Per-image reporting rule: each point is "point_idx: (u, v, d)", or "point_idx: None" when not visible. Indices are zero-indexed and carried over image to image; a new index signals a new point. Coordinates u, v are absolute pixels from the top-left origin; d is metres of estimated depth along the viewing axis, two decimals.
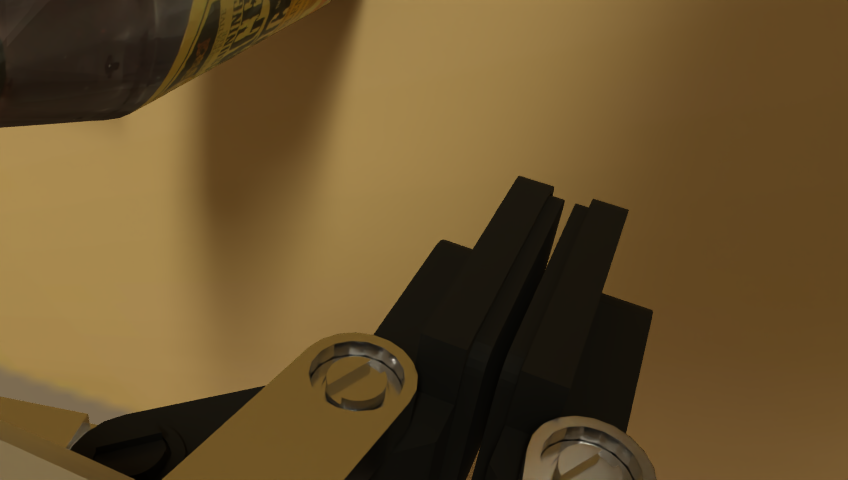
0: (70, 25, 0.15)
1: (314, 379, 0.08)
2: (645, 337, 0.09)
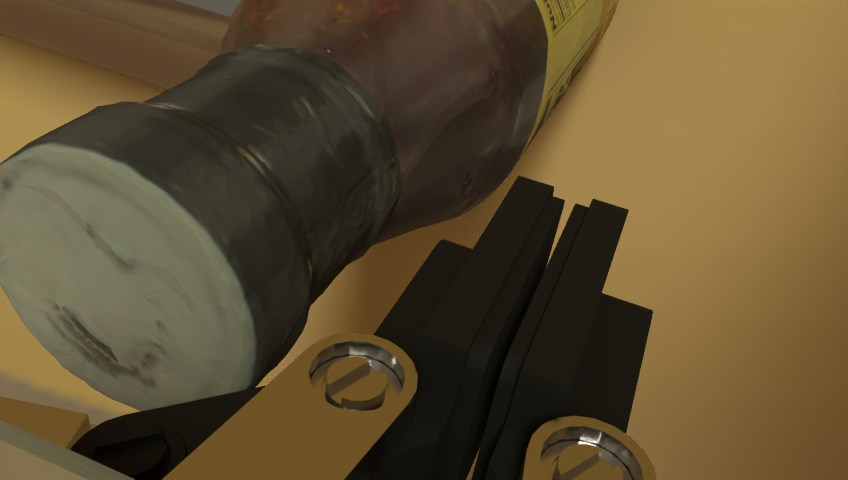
0: (453, 146, 0.13)
1: (314, 379, 0.08)
2: (645, 337, 0.09)
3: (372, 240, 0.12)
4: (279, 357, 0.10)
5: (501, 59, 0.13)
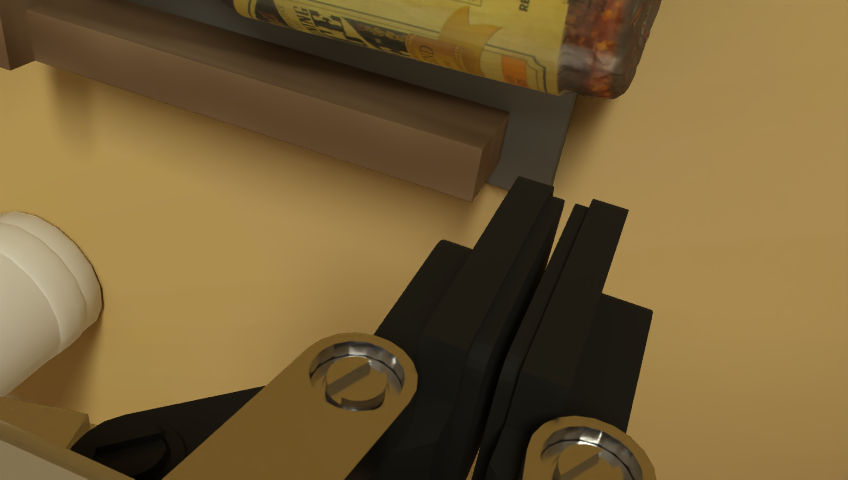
0: None
1: (314, 379, 0.08)
2: (645, 337, 0.09)
3: None
4: None
5: None
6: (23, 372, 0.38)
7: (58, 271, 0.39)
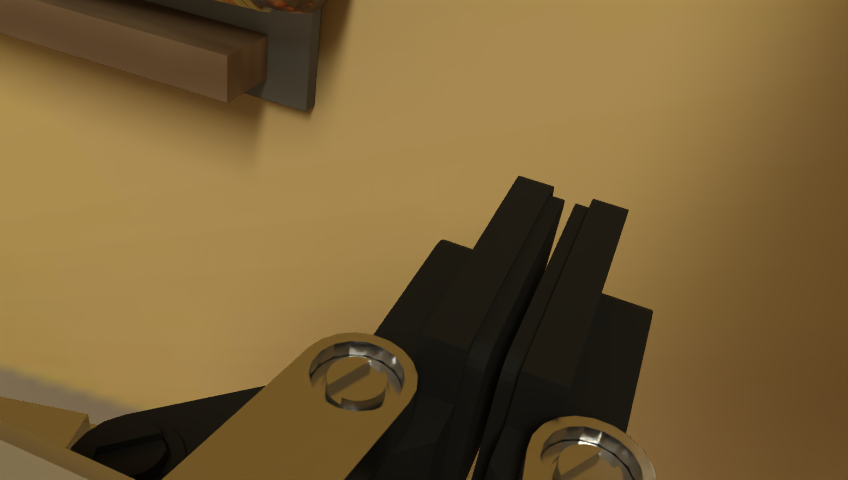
0: None
1: (314, 379, 0.08)
2: (645, 337, 0.09)
3: None
4: None
5: None
6: None
7: None
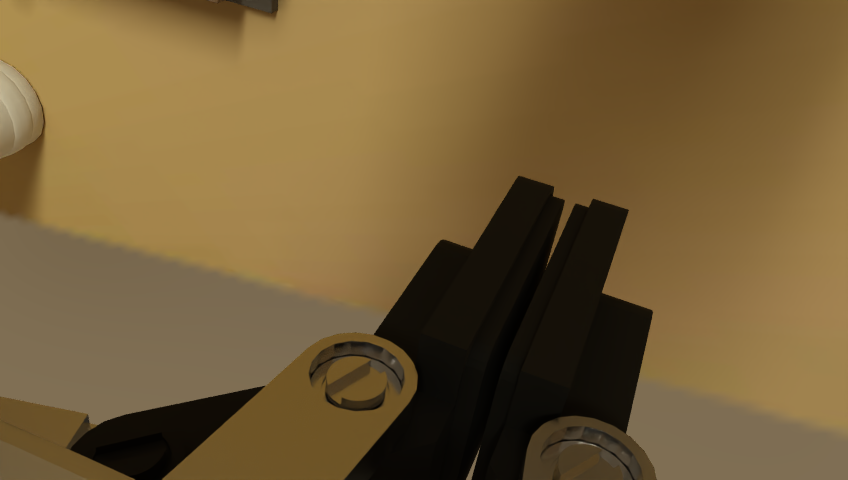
0: None
1: (314, 379, 0.08)
2: (645, 337, 0.09)
3: None
4: None
5: None
6: None
7: (13, 91, 0.62)
